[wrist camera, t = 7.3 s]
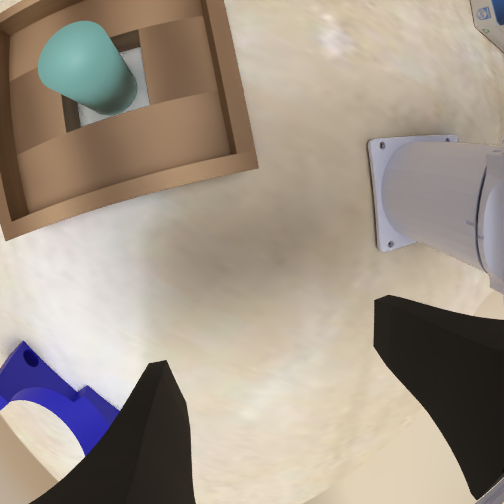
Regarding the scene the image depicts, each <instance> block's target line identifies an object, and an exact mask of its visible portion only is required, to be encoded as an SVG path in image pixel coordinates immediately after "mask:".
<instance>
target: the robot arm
mask: <svg viewBox="0 0 504 504" xmlns="http://www.w3.org/2000/svg"><path fill="white" fill-rule="evenodd" d="M380 142H381V143H382V148H380V146H379V145H380ZM502 144H503V146H499V145H488V144H473V143H458V138H457V136H456V135H424V136H405V137H391V138H378V139H371V140H370V141H369V142H368V151H369V159H370V166H371V175H372V183H373V193H374V204H375V216H376V231H377V247H378V250H379V251H381V252H388V251H391V250H395V249H398V248H401V247H404V246H407V245H410V244H413V243H417V242H420V243H422V244H424V245H427V246H429V247H431V248H434V249H436V250H438V251H440V252H443V253H445V254H447V255H449V256H452V257H454V258H456V259H458V260H460V261H462V262H465V263H467V264H469V265H471V266H473V267H475V268H477V269H479V270H481V271H484V272H486V273H488V274H489V277H490V288H492V289H494V290H496V291H498V292H500V293H501V294H503V295H504V134H503V136H502ZM389 242H391V243H390V245H389V246H388V243H389ZM373 346H374V348H375V349H376V351H377V352H378V354H379V355H380V357H381V358H382V360H383V361H384V363H385V364H386V366H387V367H388V368H389V369H390V370H391V371H392V373H393V374H394V375H395V376H396V377H397V378H398V379H399V380H400V381H401V383H402V384H403V385H404V386H405V387H406V388H407V389H408V390H409V391H410V392H411V393H412V395H413V396H414V397H415V398H416V399H417V400H418V401H419V402H420V403H421V404H422V406H423V407H424V408H425V409H426V411H427V412H428V413H429V415H430V416H431V418H432V419H433V421H434V422H435V424H436V425H437V427H438V428H439V430H440V431H441V433H442V434H443V436H444V438H445V439H446V441H447V443H448V444H449V446H450V448H451V449H452V452H453V453H454V455H455V457H456V459H457V461H458V463H459V465H460V467H461V470H462V472H463V474H464V476H465V479H466V481H467V484H468V486H469V489H470V492H471V494H472V495H473V496H474V498H475V499H476V500H478V499H480V498H481V497H482V496H483V495H484V494H486V493H487V492H488V491H489V490H490V489H491V488H492V487H494V486H495V485H496V484H497V483H498V482H499V481H500V480H501V479H502V478H503V477H504V320H498V319H489V318H482V317H475V316H470V315H465V314H461V313H456V312H452V311H448V310H444V309H440V308H437V307H433V306H429V305H426V304H422V303H419V302H415V301H412V300H408V299H405V298H401V297H397V296H392V295H387V296H384V297H382V298H379V299H376V300H374V345H373ZM502 502H504V479H503V480H501V482H499V483H498V484H497V485H496V486H495V487H494V488H493V489H492V490H491V491H490V492H488V493H487V494H486V495H485V496H484V497H482V498H481V499H480V500H479V501H478V502H477V503H475V504H502ZM29 504H196V503H195V497H194V491H193V480H192V460H191V434H190V424H189V417H188V411H187V404H186V401H185V399H184V397H183V395H182V393H181V391H180V389H179V387H178V385H177V383H176V380H175V378H174V376H173V374H172V372H171V369H170V367H169V365H168V363H167V360H164V361H159V362H154V363H149V364H148V366H147V367H146V369H145V371H144V372H143V374H142V376H141V377H140V379H139V381H138V382H137V384H136V386H135V388H134V389H133V391H132V393H131V394H130V396H129V398H128V399H127V401H126V403H125V404H124V406H123V407H122V409H121V411H120V412H119V414H118V415H117V416H116V418H115V419H114V421H113V422H112V424H111V425H110V427H109V428H108V430H107V431H106V432H105V434H104V435H103V436H102V438H101V439H100V440H99V441H98V443H97V444H96V445H95V446H94V447H93V449H92V450H91V451H90V452H89V453H88V454H87V455H86V457H85V458H84V459H83V460H82V461H81V462H80V463H79V464H78V465H77V466H76V467H75V468H74V469H73V470H72V471H71V472H70V473H68V474H67V475H66V476H65V477H64V478H63V479H62V480H61V481H60V482H58V483H57V484H56V485H55V486H54V487H52V488H51V489H50V490H48V491H47V492H46V493H44V494H43V495H42V496H40V497H39V498H37V499H36V500H34V501H32V502H31V503H29Z"/></svg>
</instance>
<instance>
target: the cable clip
mask: <svg viewBox="0 0 504 504" xmlns="http://www.w3.org/2000/svg"><path fill="white" fill-rule="evenodd" d="M15 400H27V401H31V402H35V403H37V404H40V405H42V406H44V407H46V408H47V409H49V410H50V411H52V412H53V413H54V414H56V415H57V416H58V417H59V418H60V419H61V420H62V421H63V422H64V423H65V424H66V425H67V426H68V427H69V428H70V430H71V431H72V432H73V434H74V435H75V436H76V438H77V440H78V441H79V443H80V445H81V447H82V449H83V451H84V454H85V457H86V455H87V454H88V453H89V452H90V451H91V450H92V449H93V447H94V446H95V445H96V444H97V443H98V441H99V440H100V439H101V438H102V436H103V435H104V434H105V432H106V431H107V430H108V428H109V427H110V425H111V424H112V422H113V421H114V419H115V418H116V416H117V415H118V414H119V412H120V411H119V410H117V409H116V408H115V407H113V406H112V405H111V404H110V403H108V402H107V401H106V400H105V399H103V398H102V397H101V396H100V395H98V394H97V393H96V392H95V391H94V390H92V389H91V388H90V387H89V386H88V385H87V386H85V387H84V388H83V389H81V390H80V391H78V392H76V391H75V390H74V389H73V388H72V387H71V386H69V385H68V384H67V383H66V382H65V381H64V380H63V379H62V378H61V377H59V376H58V375H57V374H56V373H55V372H54V371H53V370H52V369H51V368H50V367H49V366H48V365H47V364H46V363H45V362H44V361H43V360H42V359H41V358H40V357H39V356H38V355H37V354H36V353H35V352H34V351H33V350H32V349H31V348H30V347H29V346H28V345H27V344H26V343H25V342H24V341H22V343H21V344H20V345H19V346H18V347H17V348H16V349H15V350H14V351H13V352H12V353H11V354H10V355H9V357H8V358H7V359H6V361H5V362H4V364H3V365H2V367H1V368H0V410H1V409H3V408H4V407H5V406H6V405H7V404H8V403H9V402H11V401H15Z"/></svg>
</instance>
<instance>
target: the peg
mask: <svg viewBox="0 0 504 504" xmlns="http://www.w3.org/2000/svg"><path fill="white" fill-rule="evenodd" d="M38 74H39V77H40V79H41V81H42V83H43V84H44V85H45V86H47V87H48V88H50V89H52V90H54V91H56V92H58V93H60V94H62V95H64V96H66V97H68V98H70V99H72V100H74V101H76V102H78V103H80V104H82V105H84V106H86V107H88V108H90V109H92V110H94V111H96V112H98V113H100V114H102V115H115V114H118V113H120V112H122V111H124V110H125V109H126V108H127V107H129V105H130V104H131V103H132V102H133V100H134V98H135V96H136V92H137V83H136V80H135V77H134V76H133V74H132V73H131V71H130V70H129V68H128V66H127V65H126V63H125V62H124V60H123V59H122V57H121V55H120V54H119V52H118V51H117V49H116V48H115V46H114V44H113V43H112V41H111V40H110V38H109V37H108V35H107V33H106V32H105V30H104V29H103V28H102V27H101V26H100V25H99V24H97V23H95V22H91V21H78V22H74V23H71V24H69V25H67V26H65V27H63V28H62V29H60V30H59V31H57V32H56V33H55V34H54V35H53V36H52V37H51V38H50V39H49V40H48V42H47V43H46V44H45V46H44V48H43V50H42V52H41V54H40V57H39V61H38Z"/></svg>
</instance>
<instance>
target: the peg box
mask: <svg viewBox="0 0 504 504" xmlns="http://www.w3.org/2000/svg"><path fill="white" fill-rule="evenodd" d="M78 21H91V22H95V23H97V24H99V25H100V26H101V27H102V28H103V29H104V30H105V32H106V33H107V35H108V37H109V38H110V40H111V41H112V43H113V44H114V46H115V48H116V49H117V51H118V52H122V51H125V50H129V49H132V48H136V47H140V46H141V52H142V59H143V66H144V72H145V79H146V85H147V91H148V96H149V102H150V106H146V107H143V108H139V109H136V110H132V111H129V112H126V113H122V114H119V115H116V116H113V117H110V118H107V119H104V120H101V121H98V122H95V123H92V124H89V125H86V126H84V127H80V121H79V114H78V107H77V102H76V101H74V100H72V99H70V98H68V97H66V96H64V95H62V94H60V93H58V92H56V91H54V90H52V89H50V88H48V87H47V86H45V85H44V84H43V83H42V81H41V79H40V77H39V74H38V61H39V57H40V54H41V52H42V50H43V48H44V46H45V44H46V43H47V42H48V40H49V39H50V38H51V37H52V36H53V35H54V34H55V33H56V32H57V31H59V30H60V29H62V28H63V27H65V26H67V25H69V24H71V23H74V22H78ZM252 169H258V163H257V157H256V152H255V147H254V142H253V137H252V132H251V127H250V122H249V117H248V112H247V107H246V102H245V97H244V92H243V87H242V82H241V78H240V73H239V68H238V63H237V59H236V54H235V49H234V45H233V40H232V35H231V31H230V26H229V22H228V17H227V13H226V8H225V4H224V0H22V1H20V2H18V3H17V4H15V5H13V6H12V7H10V8H8V9H7V10H5V11H3V12H2V13H0V224H1V228H2V231H3V234H4V238H5V241H8V240H11V239H13V238H16V237H18V236H21V235H23V234H26V233H29V232H31V231H34V230H37V229H39V228H42V227H45V226H48V225H50V224H53V223H56V222H59V221H62V220H65V219H68V218H71V217H74V216H77V215H80V214H83V213H86V212H89V211H92V210H95V209H99V208H102V207H105V206H108V205H112V204H115V203H118V202H122V201H125V200H129V199H132V198H136V197H139V196H143V195H146V194H150V193H154V192H157V191H161V190H165V189H169V188H173V187H177V186H181V185H185V184H189V183H193V182H197V181H202V180H206V179H210V178H215V177H219V176H224V175H228V174H233V173H238V172H243V171H247V170H252Z"/></svg>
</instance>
